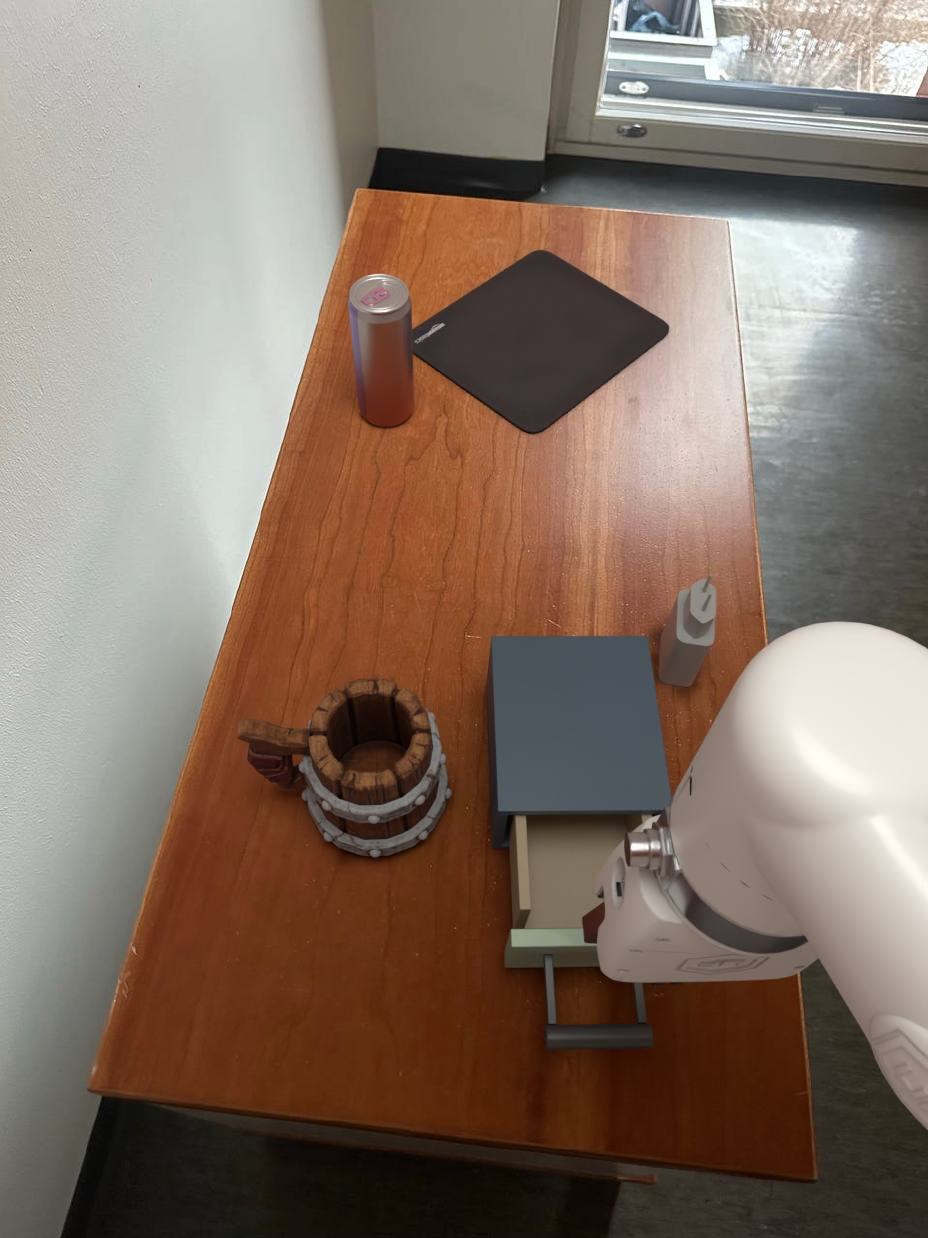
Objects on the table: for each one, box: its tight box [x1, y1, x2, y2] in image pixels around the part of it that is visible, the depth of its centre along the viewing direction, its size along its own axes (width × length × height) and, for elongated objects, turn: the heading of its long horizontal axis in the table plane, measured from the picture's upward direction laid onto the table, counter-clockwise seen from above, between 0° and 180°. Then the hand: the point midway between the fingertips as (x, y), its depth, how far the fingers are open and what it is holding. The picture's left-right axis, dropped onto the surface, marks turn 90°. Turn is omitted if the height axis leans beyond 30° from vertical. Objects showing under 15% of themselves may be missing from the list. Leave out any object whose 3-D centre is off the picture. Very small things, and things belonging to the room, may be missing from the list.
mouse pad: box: [412, 249, 670, 434], centre depth 103 cm, size 25×21×1 cm
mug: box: [236, 677, 453, 858], centre depth 67 cm, size 12×14×15 cm
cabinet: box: [485, 635, 672, 850], centre depth 71 cm, size 15×13×9 cm
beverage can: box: [347, 273, 415, 428], centre depth 90 cm, size 6×6×15 cm
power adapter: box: [657, 573, 717, 688], centre depth 75 cm, size 3×5×12 cm, turn 171°
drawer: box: [503, 814, 654, 1051], centre depth 65 cm, size 20×11×7 cm, turn 1°
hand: (661, 956), depth 51 cm, fingers closed
